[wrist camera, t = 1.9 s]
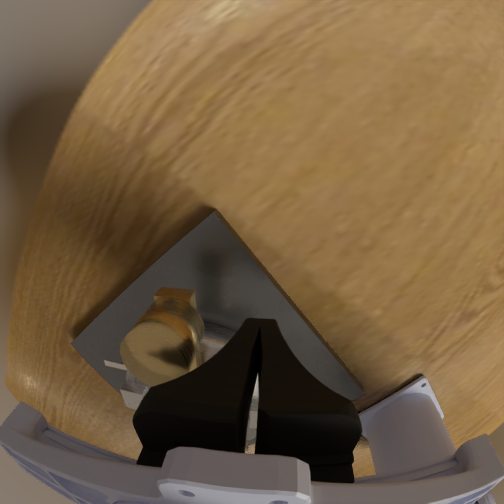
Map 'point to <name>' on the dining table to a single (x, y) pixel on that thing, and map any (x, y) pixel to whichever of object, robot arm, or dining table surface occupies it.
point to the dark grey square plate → (213, 305)
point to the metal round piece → (172, 347)
